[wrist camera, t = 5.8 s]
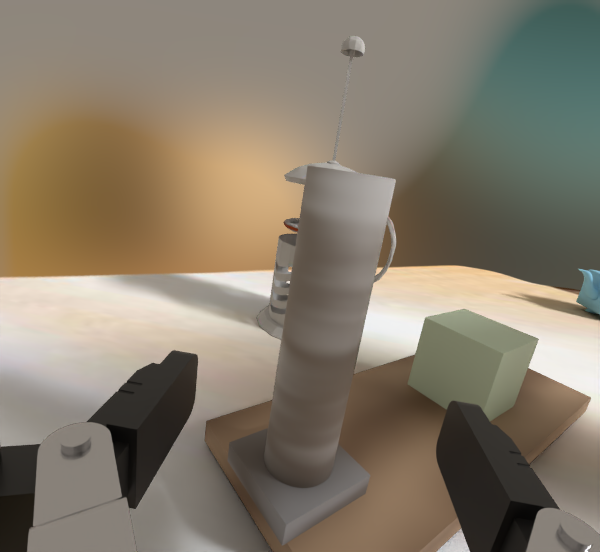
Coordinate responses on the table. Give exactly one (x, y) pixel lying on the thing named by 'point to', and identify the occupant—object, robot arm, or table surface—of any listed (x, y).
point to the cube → (471, 361)
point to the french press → (275, 312)
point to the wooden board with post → (354, 402)
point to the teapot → (590, 291)
